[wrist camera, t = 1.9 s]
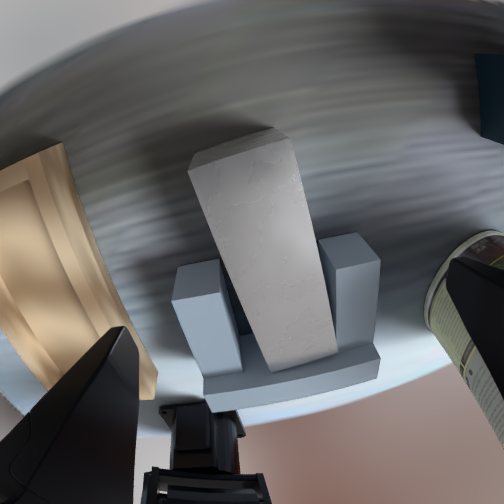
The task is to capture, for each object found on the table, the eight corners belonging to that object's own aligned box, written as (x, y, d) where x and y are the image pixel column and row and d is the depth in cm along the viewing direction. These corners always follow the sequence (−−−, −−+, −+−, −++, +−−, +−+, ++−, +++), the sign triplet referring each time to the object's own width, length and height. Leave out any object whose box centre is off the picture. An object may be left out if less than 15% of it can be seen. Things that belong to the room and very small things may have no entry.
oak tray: (158, 372, 22) (154, 399, 19) (64, 377, 22) (56, 401, 19) (62, 142, 13) (38, 152, 11) (-36, 190, 13) (-60, 205, 11)
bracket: (354, 331, 22) (376, 378, 18) (211, 360, 21) (212, 412, 18) (357, 232, 18) (392, 273, 14) (177, 266, 18) (168, 318, 14)
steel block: (320, 309, 20) (338, 352, 17) (262, 327, 21) (270, 372, 17) (272, 126, 15) (289, 138, 11) (195, 151, 15) (187, 171, 11)
